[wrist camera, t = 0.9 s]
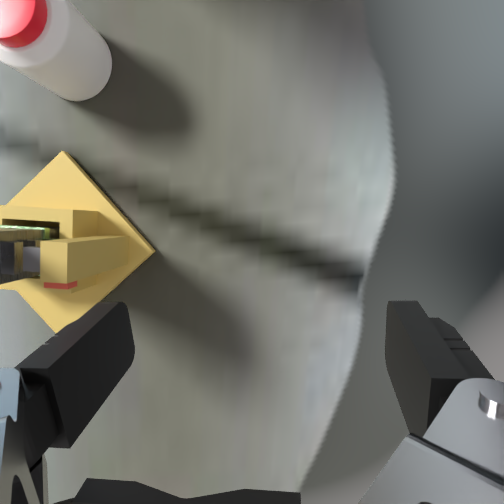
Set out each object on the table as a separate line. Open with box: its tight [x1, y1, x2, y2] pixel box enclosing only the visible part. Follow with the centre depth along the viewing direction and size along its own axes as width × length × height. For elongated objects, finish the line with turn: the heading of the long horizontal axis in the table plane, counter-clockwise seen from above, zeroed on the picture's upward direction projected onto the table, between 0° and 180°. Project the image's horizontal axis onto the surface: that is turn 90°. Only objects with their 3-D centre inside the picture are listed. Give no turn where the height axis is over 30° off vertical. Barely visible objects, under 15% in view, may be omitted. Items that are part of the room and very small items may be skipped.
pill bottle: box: [0, 0, 112, 101], centre depth 33 cm, size 8×8×11 cm
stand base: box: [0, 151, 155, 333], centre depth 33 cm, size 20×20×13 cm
